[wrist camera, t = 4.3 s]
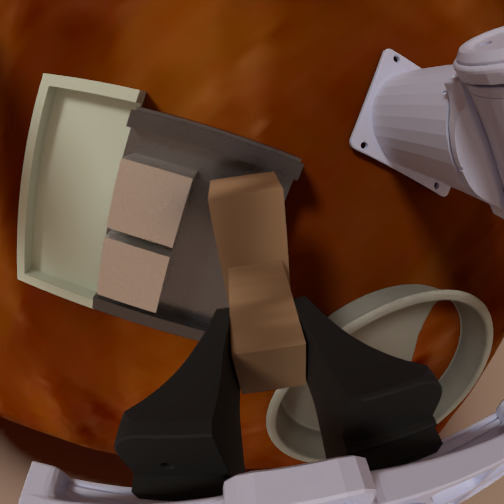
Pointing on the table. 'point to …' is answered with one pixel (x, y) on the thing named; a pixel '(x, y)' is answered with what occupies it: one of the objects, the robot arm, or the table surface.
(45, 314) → the table surface
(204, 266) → the slot plate
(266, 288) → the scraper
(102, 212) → the tray
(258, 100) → the table surface
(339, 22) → the table surface
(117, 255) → the chip
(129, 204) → the chip
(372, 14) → the table surface
